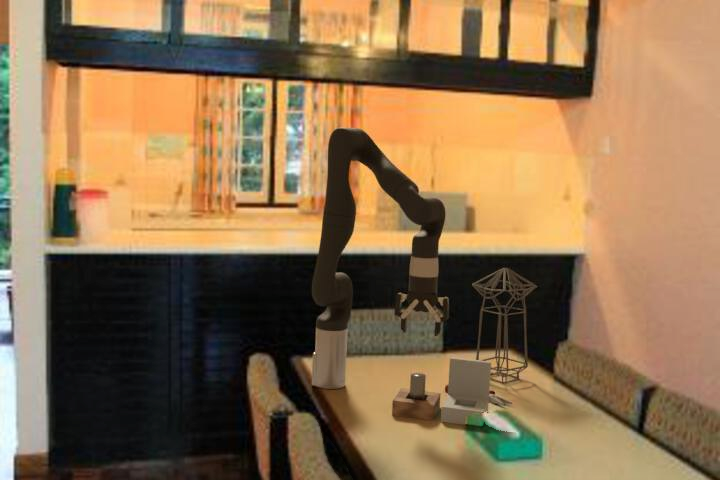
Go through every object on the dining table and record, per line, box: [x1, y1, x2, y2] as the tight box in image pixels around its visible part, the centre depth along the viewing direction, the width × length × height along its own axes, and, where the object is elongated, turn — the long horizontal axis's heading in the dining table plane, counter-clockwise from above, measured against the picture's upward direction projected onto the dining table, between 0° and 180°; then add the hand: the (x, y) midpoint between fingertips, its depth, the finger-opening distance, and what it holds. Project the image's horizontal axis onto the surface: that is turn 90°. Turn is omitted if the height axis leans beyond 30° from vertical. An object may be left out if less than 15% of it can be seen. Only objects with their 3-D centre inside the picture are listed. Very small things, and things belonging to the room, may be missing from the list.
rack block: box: [440, 356, 492, 426], centre depth 203 cm, size 11×12×14 cm
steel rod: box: [409, 372, 427, 401], centre depth 206 cm, size 4×4×10 cm
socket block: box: [391, 387, 441, 421], centre depth 207 cm, size 11×11×4 cm
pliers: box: [444, 384, 513, 407], centre depth 221 cm, size 12×20×3 cm, turn 39°
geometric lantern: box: [471, 267, 538, 384], centre depth 239 cm, size 16×16×35 cm
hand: (420, 333), depth 204 cm, fingers open, 8 cm apart
